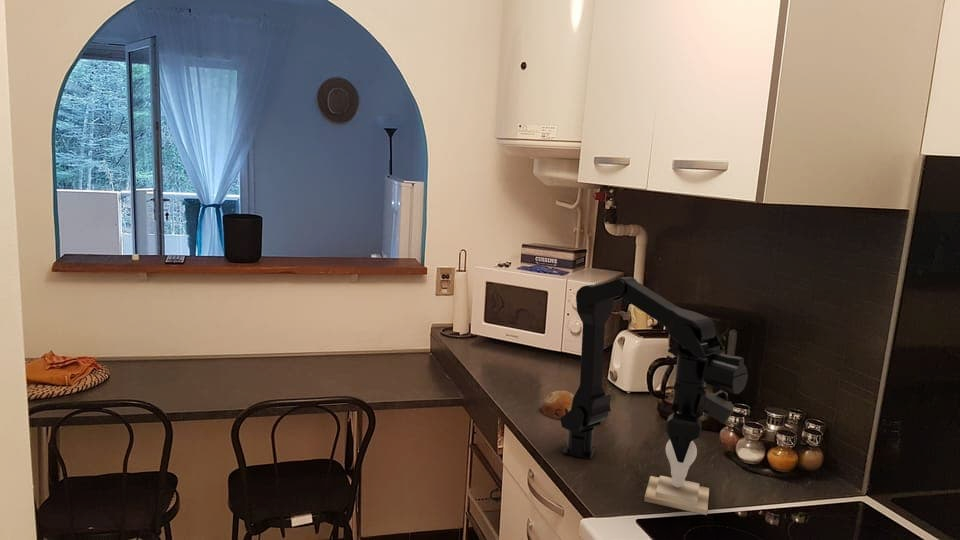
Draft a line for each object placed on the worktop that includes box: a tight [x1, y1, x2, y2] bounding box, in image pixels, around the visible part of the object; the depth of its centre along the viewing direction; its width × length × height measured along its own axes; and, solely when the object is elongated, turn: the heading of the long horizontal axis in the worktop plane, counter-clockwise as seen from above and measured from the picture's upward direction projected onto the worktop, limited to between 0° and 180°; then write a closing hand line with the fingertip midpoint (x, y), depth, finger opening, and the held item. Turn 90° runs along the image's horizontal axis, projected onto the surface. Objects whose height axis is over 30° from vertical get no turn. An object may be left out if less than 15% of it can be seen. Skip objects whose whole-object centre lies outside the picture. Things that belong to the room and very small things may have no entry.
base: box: [643, 475, 710, 516], centre depth 138 cm, size 10×12×2 cm
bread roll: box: [541, 390, 575, 421], centre depth 180 cm, size 10×10×8 cm
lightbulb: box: [665, 439, 698, 488], centre depth 137 cm, size 6×6×11 cm
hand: (682, 453), depth 136 cm, fingers open, 9 cm apart
